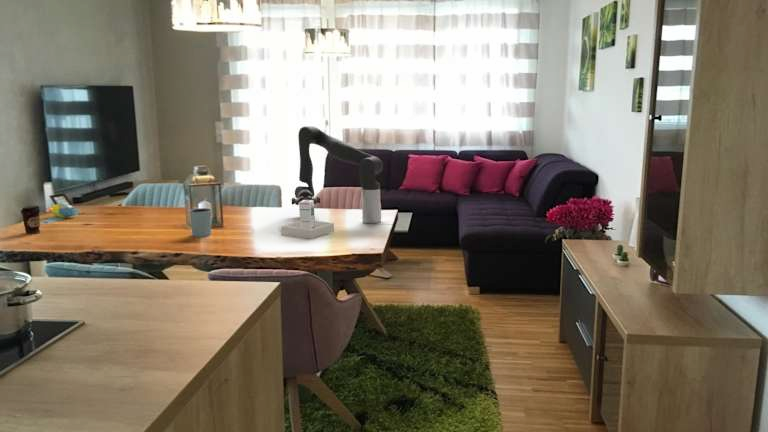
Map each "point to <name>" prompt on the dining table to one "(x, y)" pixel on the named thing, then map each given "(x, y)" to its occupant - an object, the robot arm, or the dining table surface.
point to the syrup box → (307, 214)
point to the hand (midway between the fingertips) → (306, 202)
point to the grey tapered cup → (200, 222)
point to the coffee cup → (31, 219)
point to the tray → (295, 229)
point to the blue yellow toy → (61, 212)
